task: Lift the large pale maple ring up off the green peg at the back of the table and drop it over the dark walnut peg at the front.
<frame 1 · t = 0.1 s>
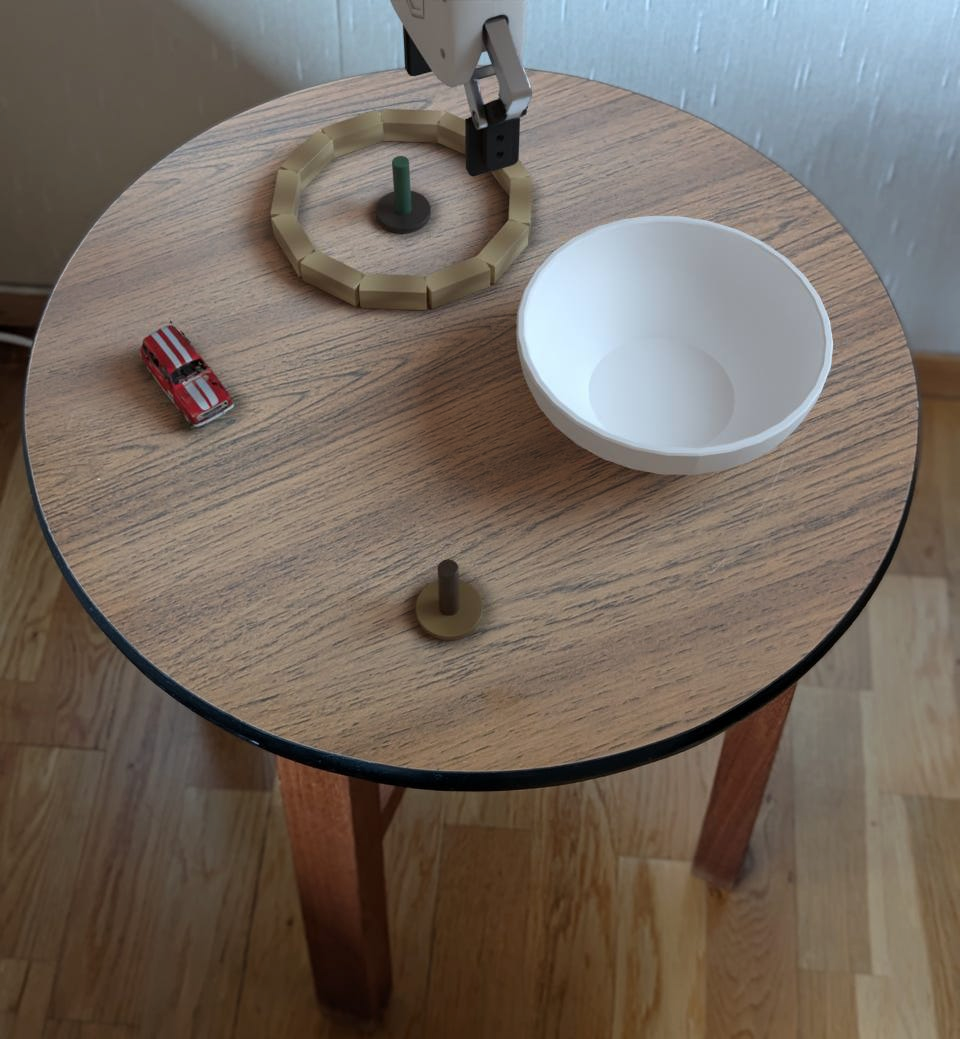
hand: (460, 116, 82), 15 cm above the table, tool pointing down, fingers open, 9 cm apart
toy car: (189, 387, 89), on the table
green peg: (403, 214, 98), on the table
walnut peg: (449, 611, 80), on the table
ring: (403, 214, 98), on the table
bowl: (660, 400, 89), on the table
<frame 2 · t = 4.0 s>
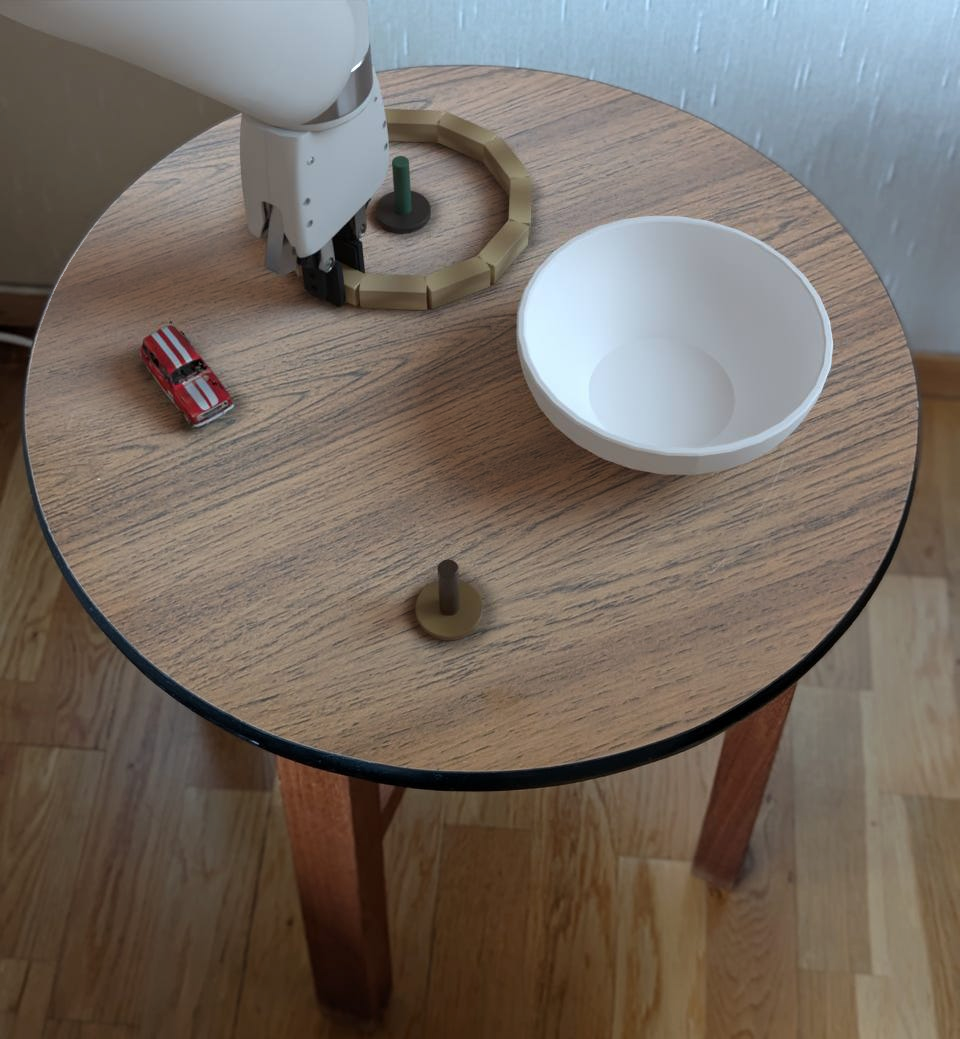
hand: (335, 285, 94), 0 cm above the table, tool pointing down, fingers closed on ring, 1 cm apart
ring: (403, 213, 98), on the table, touching gripper
everything else where it was.
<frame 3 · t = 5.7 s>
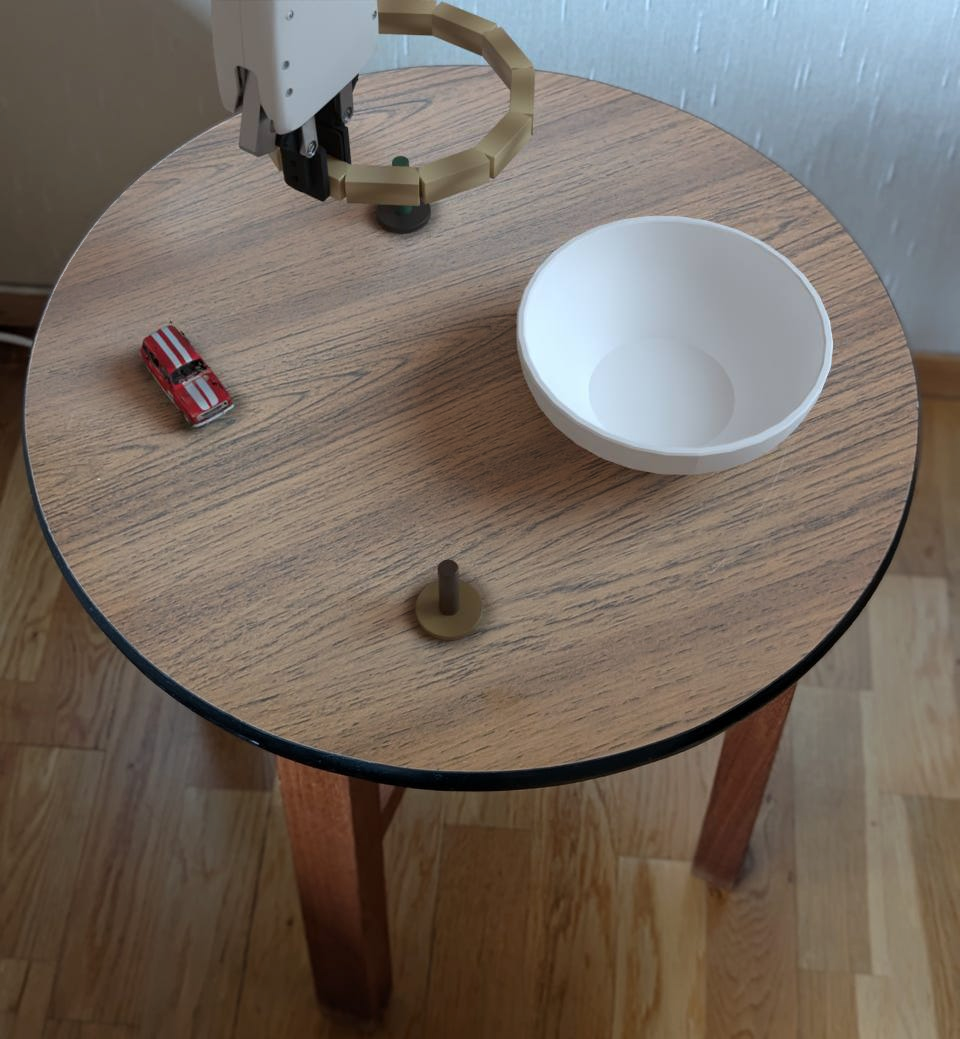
hand: (318, 179, 85), 10 cm above the table, tool pointing down, fingers closed on ring
ring: (394, 107, 89), point 10 cm above the table, touching gripper
everything else where it was.
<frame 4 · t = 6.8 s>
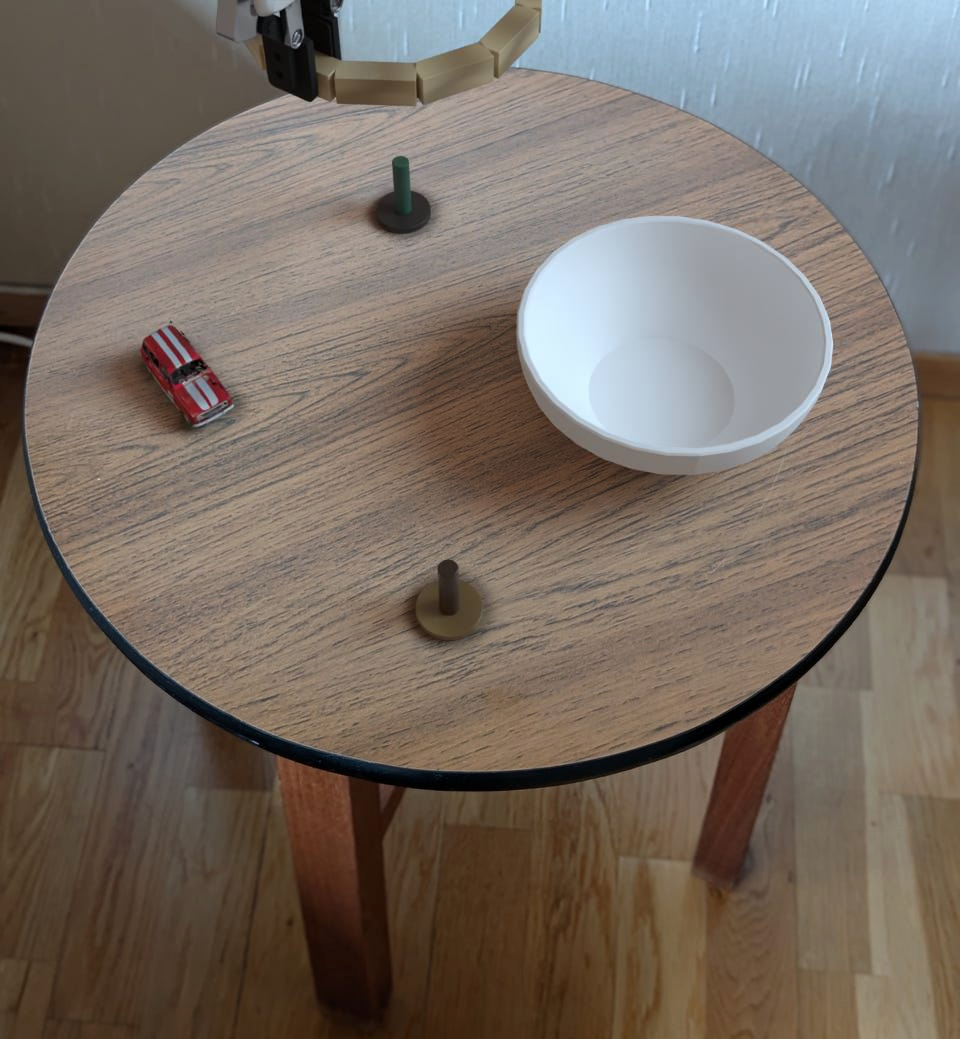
hand: (305, 78, 77), 19 cm above the table, tool pointing down, fingers closed on ring
ring: (388, 5, 82), point 18 cm above the table, touching gripper
everything else where it was.
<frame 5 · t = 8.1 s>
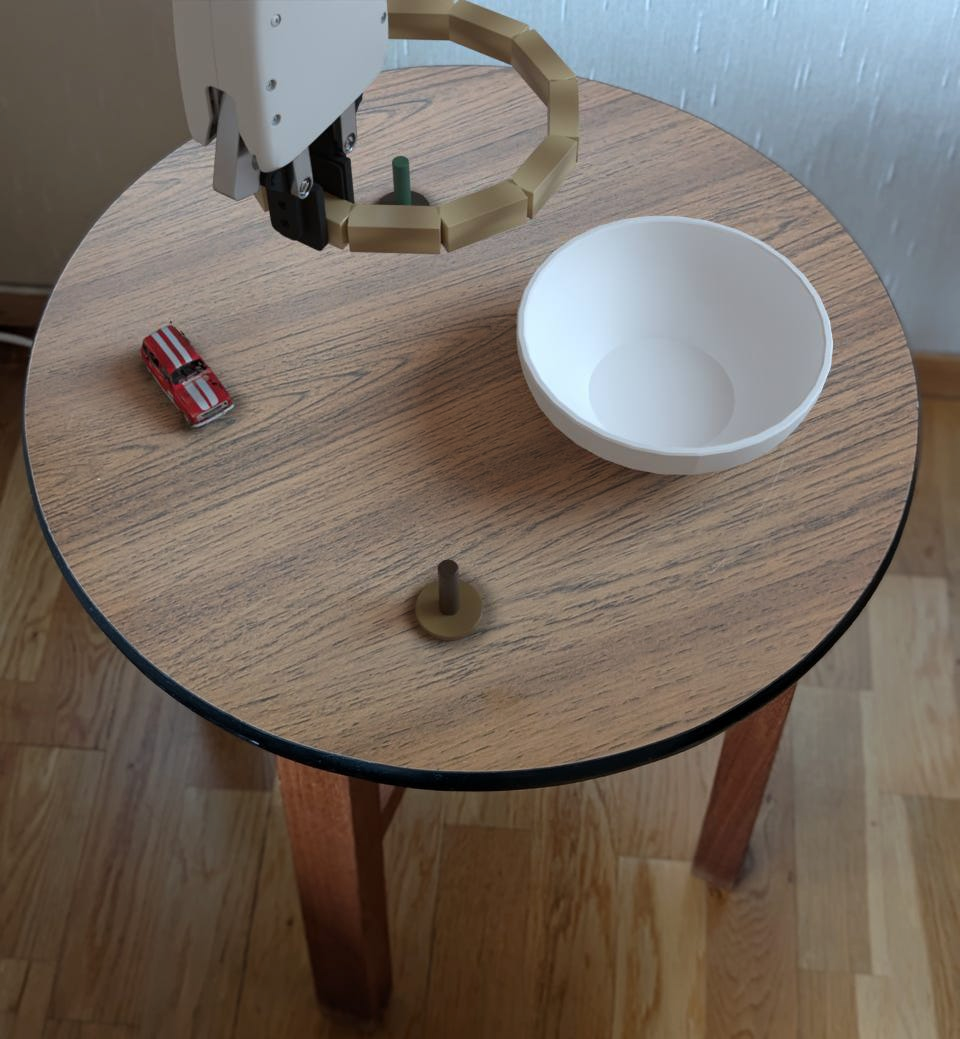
hand: (313, 222, 68), 21 cm above the table, tool pointing down, fingers closed on ring
ring: (405, 130, 73), point 20 cm above the table, touching gripper
everything else where it was.
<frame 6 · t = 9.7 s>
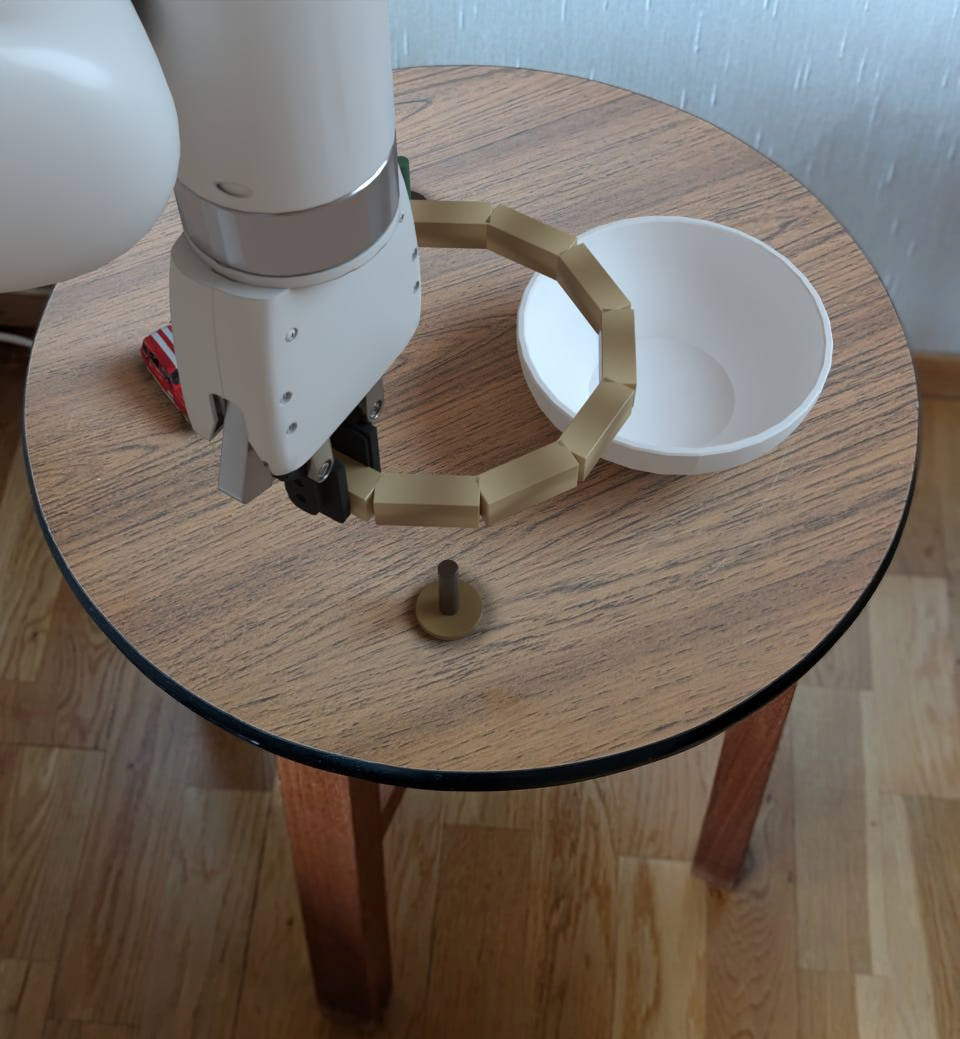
hand: (334, 485, 60), 20 cm above the table, tool pointing down, fingers closed on ring
ring: (438, 364, 64), point 20 cm above the table, touching gripper
everything else where it was.
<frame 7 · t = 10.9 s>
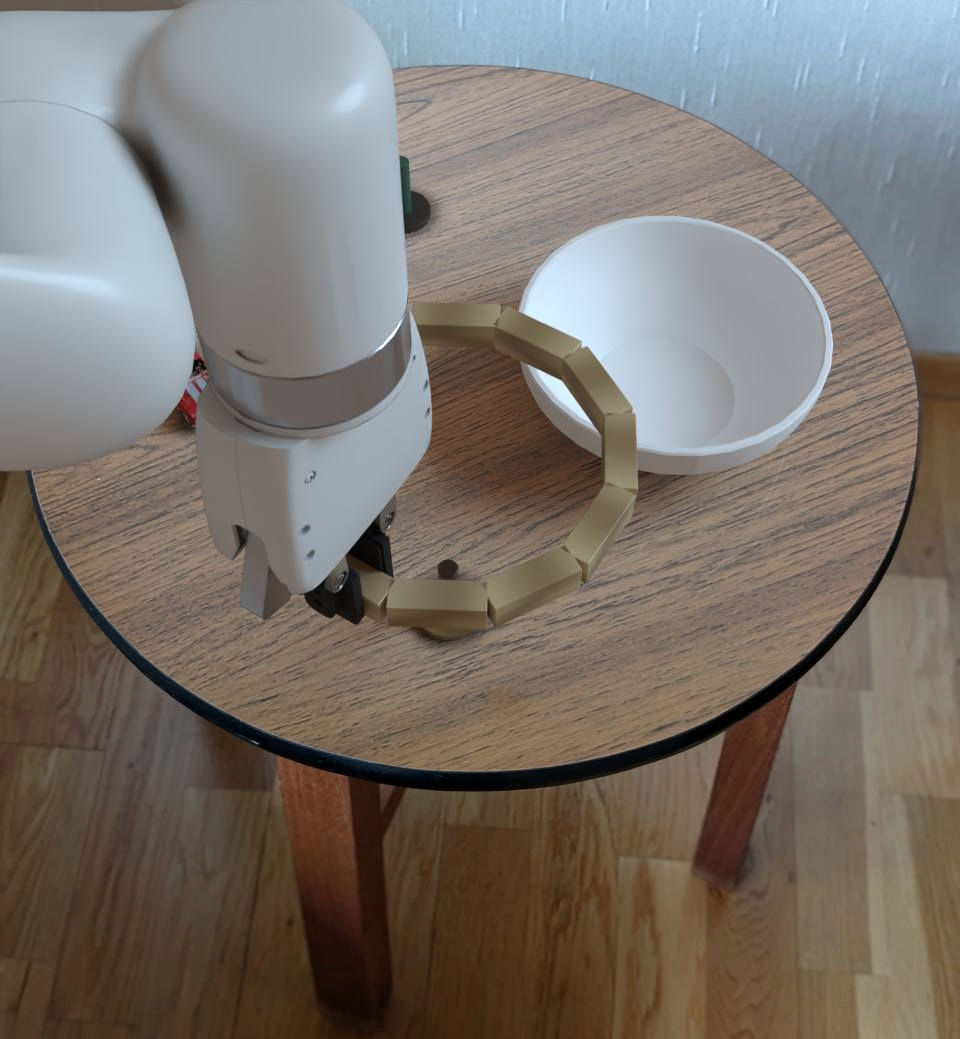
hand: (348, 587, 63), 15 cm above the table, tool pointing down, fingers closed on ring
ring: (448, 465, 67), point 15 cm above the table, touching gripper
everything else where it was.
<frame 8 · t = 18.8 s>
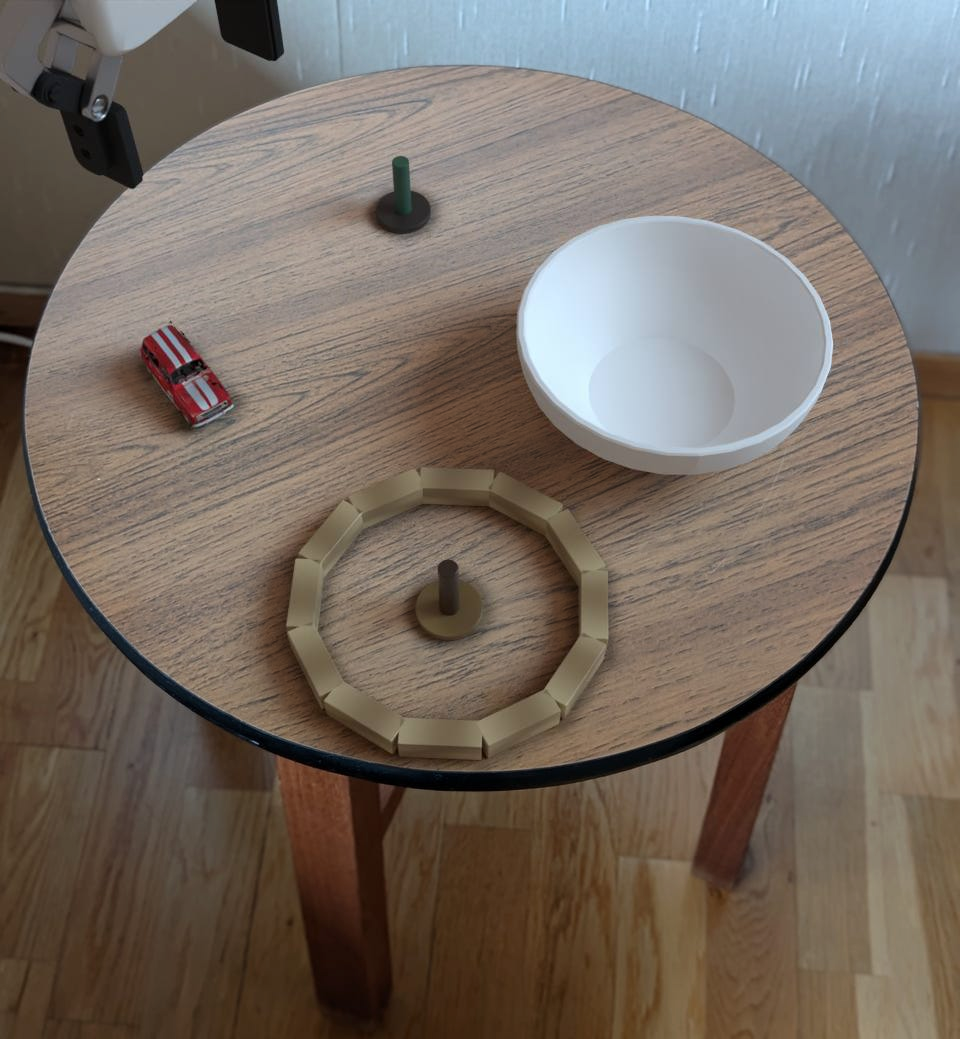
hand: (185, 108, 59), 30 cm above the table, tool pointing down, fingers open, 9 cm apart
ring: (449, 612, 80), on the table
everything else where it was.
at the end: ring inside the target area on the walnut peg (0.1 cm from its centre), point 0.0 cm above the walnut peg's base; ring moved 33.5 cm from its start; the gripper is holding nothing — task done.
